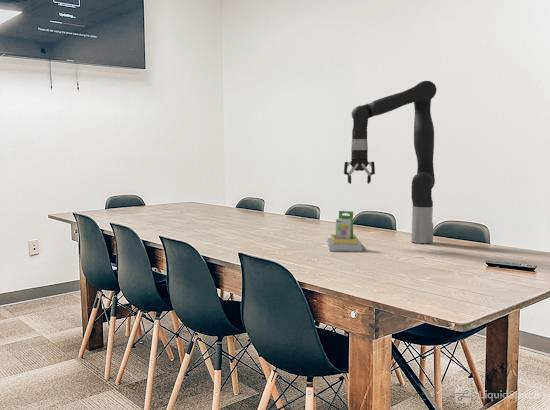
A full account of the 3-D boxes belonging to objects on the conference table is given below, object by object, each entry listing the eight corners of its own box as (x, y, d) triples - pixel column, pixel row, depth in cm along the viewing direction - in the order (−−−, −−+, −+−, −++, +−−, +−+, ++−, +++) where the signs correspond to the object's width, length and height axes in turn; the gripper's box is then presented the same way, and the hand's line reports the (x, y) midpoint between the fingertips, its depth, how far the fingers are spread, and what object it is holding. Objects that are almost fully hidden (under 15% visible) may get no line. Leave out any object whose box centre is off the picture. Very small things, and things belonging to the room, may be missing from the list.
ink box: (335, 241, 241) (335, 211, 240) (338, 239, 245) (339, 210, 243) (350, 242, 238) (350, 212, 237) (353, 241, 242) (353, 211, 240)
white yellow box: (357, 246, 249) (358, 234, 249) (361, 253, 233) (362, 239, 233) (327, 246, 250) (327, 233, 249) (329, 252, 234) (329, 239, 233)
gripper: (373, 149, 256) (373, 183, 257) (343, 149, 256) (343, 183, 258) (376, 149, 248) (375, 184, 250) (345, 149, 249) (344, 184, 250)
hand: (359, 183), depth 254 cm, fingers open, 8 cm apart
